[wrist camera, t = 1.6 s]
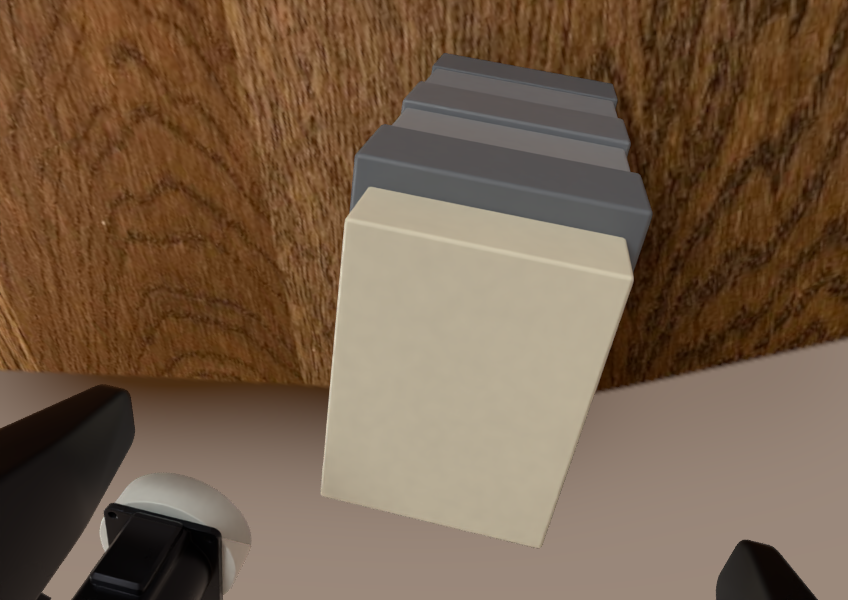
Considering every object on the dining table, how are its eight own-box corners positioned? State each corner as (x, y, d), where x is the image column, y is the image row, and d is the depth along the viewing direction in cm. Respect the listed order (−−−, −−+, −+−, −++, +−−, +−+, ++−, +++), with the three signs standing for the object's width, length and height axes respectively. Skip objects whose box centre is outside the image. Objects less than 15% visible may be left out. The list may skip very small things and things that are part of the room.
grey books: (555, 291, 23) (551, 513, 14) (412, 261, 23) (325, 459, 15) (613, 83, 19) (655, 212, 11) (443, 52, 20) (353, 152, 11)
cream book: (543, 493, 14) (541, 551, 13) (340, 446, 14) (319, 497, 13) (626, 236, 11) (635, 278, 10) (368, 183, 11) (343, 218, 10)
